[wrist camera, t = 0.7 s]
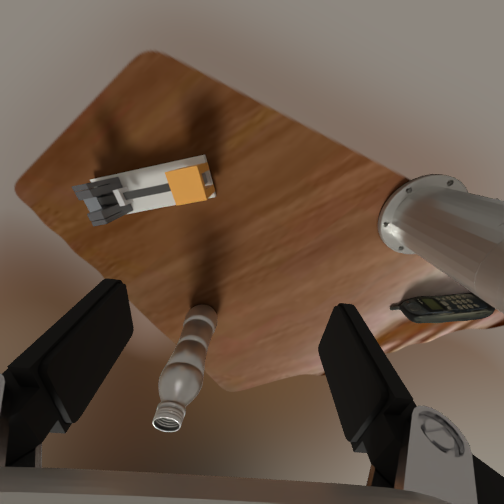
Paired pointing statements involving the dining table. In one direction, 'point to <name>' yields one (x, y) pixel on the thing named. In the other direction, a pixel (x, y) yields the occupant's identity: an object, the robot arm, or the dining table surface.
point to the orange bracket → (189, 184)
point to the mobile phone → (445, 308)
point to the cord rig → (133, 191)
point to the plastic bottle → (185, 368)
